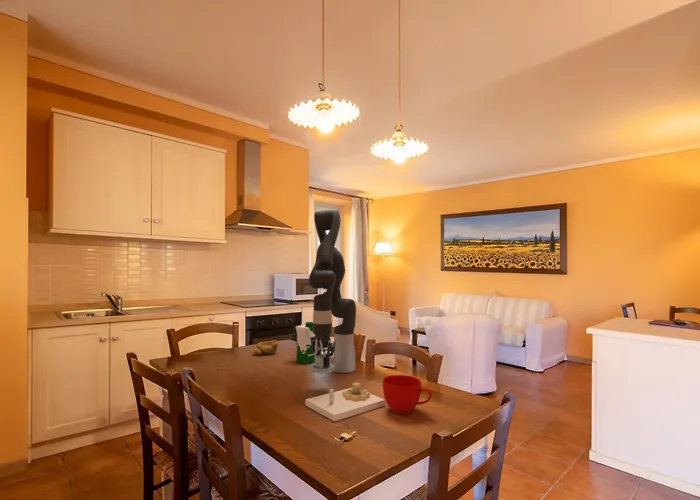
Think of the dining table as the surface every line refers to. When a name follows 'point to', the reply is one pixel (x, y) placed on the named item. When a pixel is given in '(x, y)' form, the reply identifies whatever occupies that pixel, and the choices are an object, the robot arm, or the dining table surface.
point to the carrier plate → (345, 402)
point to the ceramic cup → (403, 393)
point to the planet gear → (321, 365)
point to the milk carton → (305, 344)
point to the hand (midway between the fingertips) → (322, 365)
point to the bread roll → (266, 348)
